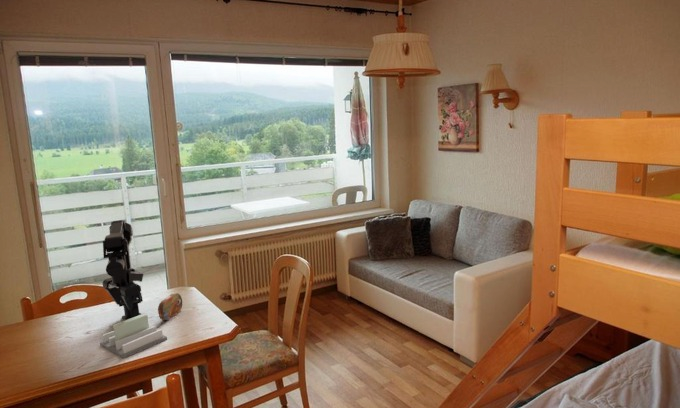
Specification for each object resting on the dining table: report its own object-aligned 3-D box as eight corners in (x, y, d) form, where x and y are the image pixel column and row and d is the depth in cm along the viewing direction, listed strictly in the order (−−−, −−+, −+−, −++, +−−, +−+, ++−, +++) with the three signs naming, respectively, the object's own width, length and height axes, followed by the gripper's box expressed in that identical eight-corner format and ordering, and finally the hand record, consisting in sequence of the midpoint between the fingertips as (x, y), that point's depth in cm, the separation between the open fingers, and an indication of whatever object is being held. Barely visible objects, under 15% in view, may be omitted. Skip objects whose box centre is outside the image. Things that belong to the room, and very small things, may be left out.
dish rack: (100, 345, 178) (98, 335, 178) (142, 328, 191) (141, 318, 191) (123, 358, 167) (121, 347, 166) (167, 339, 180) (165, 329, 179)
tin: (165, 323, 195) (162, 304, 193) (158, 323, 195) (155, 304, 194) (183, 308, 209) (181, 290, 207) (177, 308, 210) (175, 290, 208)
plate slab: (116, 345, 175) (113, 325, 174) (146, 332, 184) (143, 313, 183) (119, 347, 174) (116, 326, 172) (150, 334, 183) (147, 314, 181)
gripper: (151, 266, 181) (156, 304, 184) (126, 258, 192) (132, 295, 195) (122, 275, 172) (129, 315, 175) (99, 266, 184) (105, 304, 187)
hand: (124, 306), depth 183 cm, fingers open, 9 cm apart
